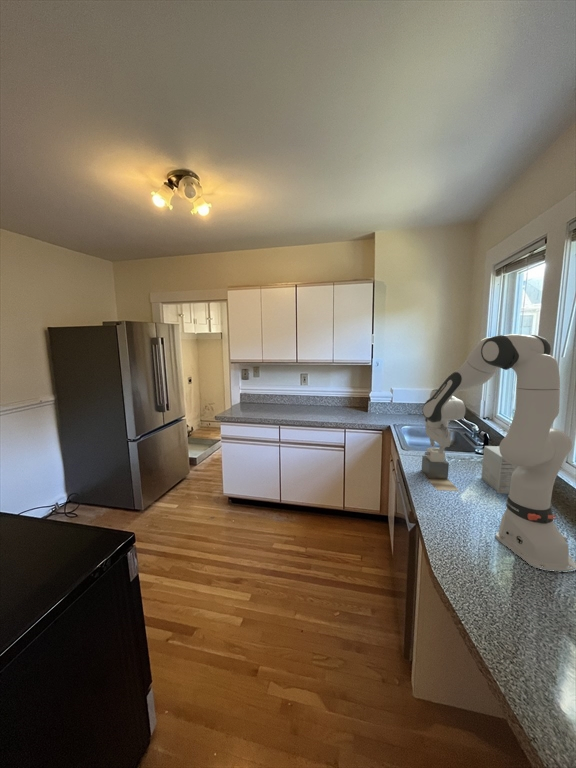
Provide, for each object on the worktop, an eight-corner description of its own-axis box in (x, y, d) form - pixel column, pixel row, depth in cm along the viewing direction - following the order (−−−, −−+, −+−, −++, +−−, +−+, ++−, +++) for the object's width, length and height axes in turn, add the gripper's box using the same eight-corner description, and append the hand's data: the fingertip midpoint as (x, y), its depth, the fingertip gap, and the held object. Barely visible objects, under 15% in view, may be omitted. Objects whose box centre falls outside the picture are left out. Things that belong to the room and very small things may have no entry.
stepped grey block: (447, 479, 148) (449, 457, 147) (428, 478, 149) (429, 457, 147) (439, 471, 157) (441, 450, 155) (421, 470, 158) (422, 450, 156)
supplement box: (527, 494, 137) (532, 457, 134) (496, 493, 138) (500, 456, 135) (508, 480, 150) (512, 446, 147) (480, 479, 151) (483, 445, 148)
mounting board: (459, 493, 138) (459, 490, 138) (437, 493, 138) (437, 490, 138) (439, 473, 158) (439, 470, 158) (419, 472, 159) (420, 469, 159)
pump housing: (444, 462, 149) (445, 452, 148) (427, 461, 149) (427, 452, 148) (439, 457, 154) (439, 447, 154) (422, 457, 155) (423, 447, 154)
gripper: (455, 428, 138) (453, 457, 140) (436, 416, 158) (434, 442, 160) (440, 428, 139) (439, 457, 141) (423, 416, 159) (422, 442, 161)
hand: (436, 449), depth 151 cm, fingers open, 8 cm apart
